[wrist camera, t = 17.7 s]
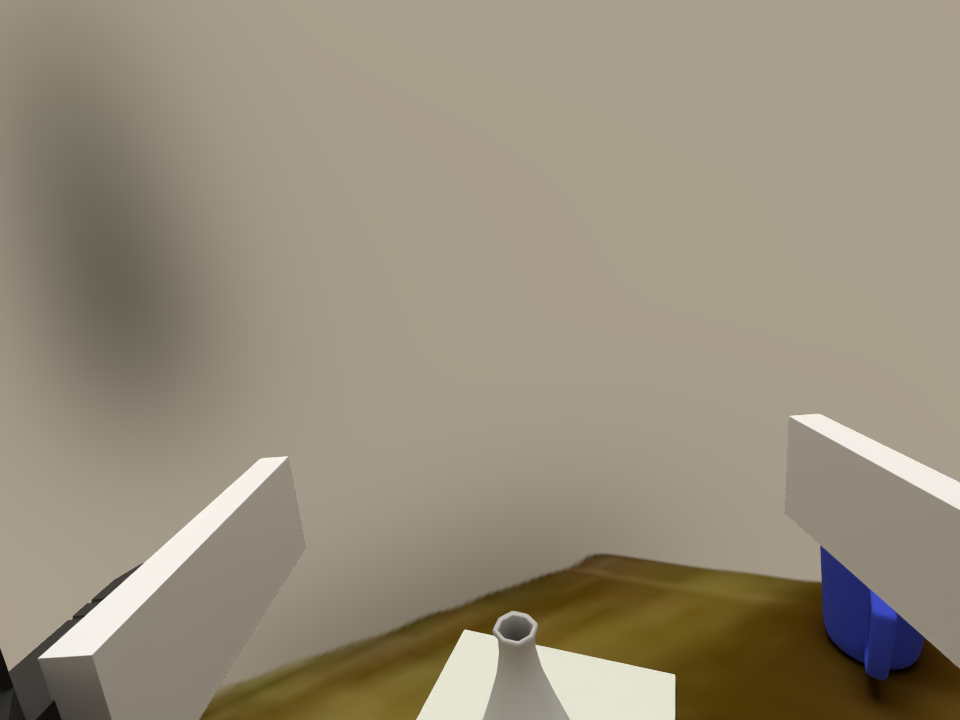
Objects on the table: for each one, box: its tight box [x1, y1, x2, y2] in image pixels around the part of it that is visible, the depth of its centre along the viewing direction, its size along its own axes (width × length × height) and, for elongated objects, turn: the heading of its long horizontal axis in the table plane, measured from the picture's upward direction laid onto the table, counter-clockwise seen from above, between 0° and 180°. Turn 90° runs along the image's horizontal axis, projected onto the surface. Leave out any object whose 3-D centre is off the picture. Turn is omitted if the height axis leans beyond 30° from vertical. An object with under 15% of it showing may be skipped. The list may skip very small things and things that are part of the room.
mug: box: [820, 545, 925, 680], centre depth 42 cm, size 8×12×10 cm
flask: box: [483, 611, 570, 720], centre depth 38 cm, size 7×7×10 cm
